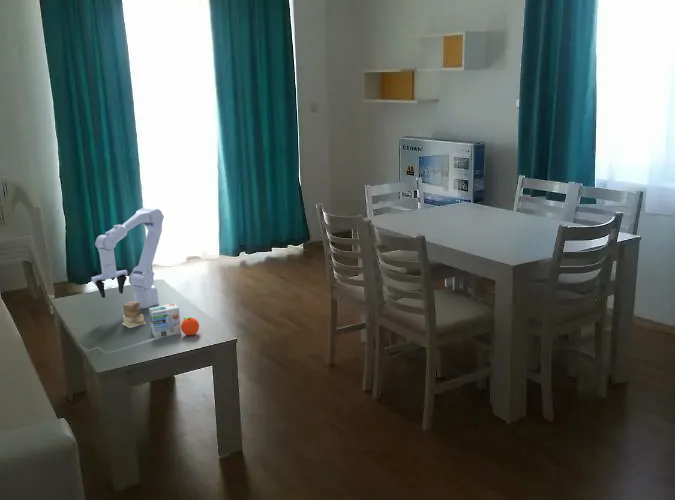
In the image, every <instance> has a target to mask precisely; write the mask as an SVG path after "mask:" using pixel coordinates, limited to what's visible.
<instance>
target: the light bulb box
mask: <svg viewBox="0 0 675 500" xmlns="http://www.w3.org/2000/svg"><path fill="white" fill-rule="evenodd" d="M148 312H149V313H148V314H149V323H150V331H151V334H152V335H153V337H154V339H159V338H166V337H171V336H174V335H175V336H176V335H182V330H181V317H180V307H178V305H177V304H176V303H175V302H174V303H170V304H169V303H168V304H163V305H159V306H158V305H157V306H151V307H148Z"/></svg>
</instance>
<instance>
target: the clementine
mask: <svg viewBox="0 0 675 500" xmlns="http://www.w3.org/2000/svg"><path fill="white" fill-rule="evenodd" d="M180 326H181V333H182V334H183V333H184V334H185V335H186V336H194V335H196V334H197V333H198V331H199V329H200V323H199V321H198V320H197V319H196V318H194V317H191V316H187V317H184V318H183V320H182V321H181V323H180Z"/></svg>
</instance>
